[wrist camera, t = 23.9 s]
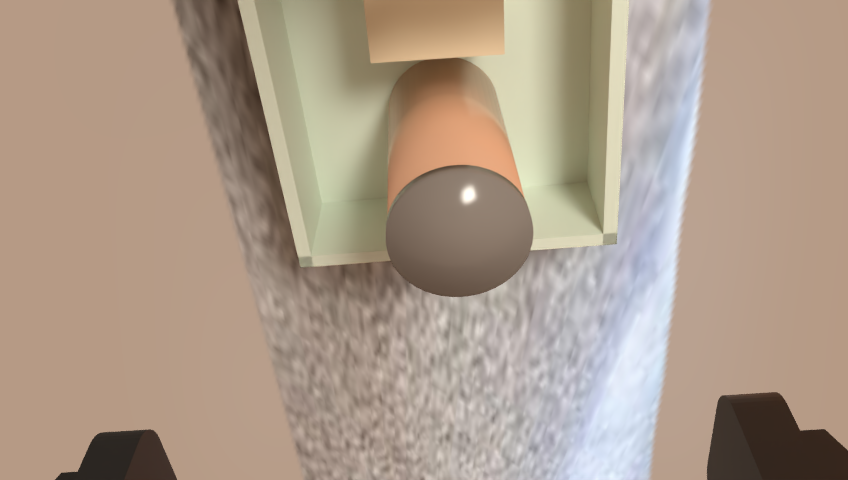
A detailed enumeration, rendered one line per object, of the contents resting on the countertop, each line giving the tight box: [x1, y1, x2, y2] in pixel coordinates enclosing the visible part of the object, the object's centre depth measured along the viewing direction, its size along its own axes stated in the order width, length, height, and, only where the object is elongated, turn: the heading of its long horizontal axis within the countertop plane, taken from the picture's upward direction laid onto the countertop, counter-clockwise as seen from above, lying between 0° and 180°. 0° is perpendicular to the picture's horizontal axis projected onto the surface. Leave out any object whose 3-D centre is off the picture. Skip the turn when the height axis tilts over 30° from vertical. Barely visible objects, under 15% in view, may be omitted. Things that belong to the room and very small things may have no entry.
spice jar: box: [386, 58, 533, 297], centre depth 32 cm, size 5×5×11 cm
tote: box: [238, 0, 629, 268], centre depth 33 cm, size 17×14×5 cm
